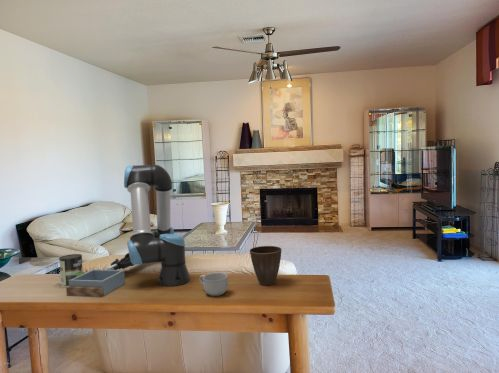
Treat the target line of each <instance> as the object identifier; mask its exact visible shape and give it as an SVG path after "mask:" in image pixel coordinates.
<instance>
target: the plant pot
mask: <svg viewBox="0 0 499 373" xmlns="http://www.w3.org/2000/svg"><path fill="white" fill-rule="evenodd" d="M249 255H250V259H251V263H252V268H253V270H254V273H255V276H256V278H257V280H258V282H259V283H258V284H260V285H262V286H272V285H274V284H275V283H276V282H277V278H278V275H279V270H280V264H281V260H282V258H281V257H282V248H281V247H279V246H275V245H274V246H273V245H262V246H256V247H252V248H250V249H249Z"/></svg>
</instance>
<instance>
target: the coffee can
mask: <svg viewBox="0 0 499 373" xmlns="http://www.w3.org/2000/svg"><path fill="white" fill-rule="evenodd" d="M58 260H59V269H60V270H59V271H60V283H61V284H60V286H61V287H63V288H66V287H68V286H69V280H71V279H73V278H75V277H77V276H80V275H82V274H84V272H83V270H84V269H83V254H80V253H72V254H64V255H61V256H59V258H58Z"/></svg>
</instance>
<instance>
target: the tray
mask: <svg viewBox="0 0 499 373" xmlns="http://www.w3.org/2000/svg"><path fill="white" fill-rule="evenodd" d="M125 277H126V275H125V270H124V269H117V270H107V269H90V270H89V271H87V272H83V274H82V275H80V276H77V277H75V278H73V279H71V280H69V286H72V287H99V288H104V296H106V295H107V294H109V293H112V292H113V291H114V290H116V289H118V288H119V287H122V286H123V285H125V284H126V280H125Z"/></svg>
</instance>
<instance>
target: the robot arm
mask: <svg viewBox="0 0 499 373" xmlns="http://www.w3.org/2000/svg"><path fill="white" fill-rule="evenodd" d="M123 176H124V179H123V186H124V189H127V192H128V193H129V194H130V205H131V207H130V208H131V219H132V220H131V221H132V235H131V236H130V237H129V240H128V241H127V250H128V253H126V254H125V255H124V257H123V258H121V259H119V258H116V259H115V260H114V261H112V262H110V266H108V267H106V270H124V269H126V268H129V267H133V266H135V265H137V266H138V265H146V264H154V263H156V264H157V263H161V268H160V272H159V274H158V275H159V276H158V284H159V285H160V286H165V287H174V286H181V285H185V284H186V283H189V282H190V281H191V276H190V273H189V270H188V268H187V265H186V250H185V247H186V244H185V238H184V236H182V234H181V235H180V234H177V233H175V231H174V230H175V229H174V227H171V190H172V189H173V181H172V178H171V176H170V174H169V172H168V171H167V169H165V168H164V167H162V166H160V165H158V164H144V165H143V164H141V165H135V164H134V165H128V166H126V167H125V169H124V175H123ZM151 187H154V190H155V191H156V192H155V193H156V197H155V198H156V227H157V228H152V225H151V217H150V216H151V215H150V214H151V213H150V205H149V204H150V203H149V191H150V190H151Z"/></svg>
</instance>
